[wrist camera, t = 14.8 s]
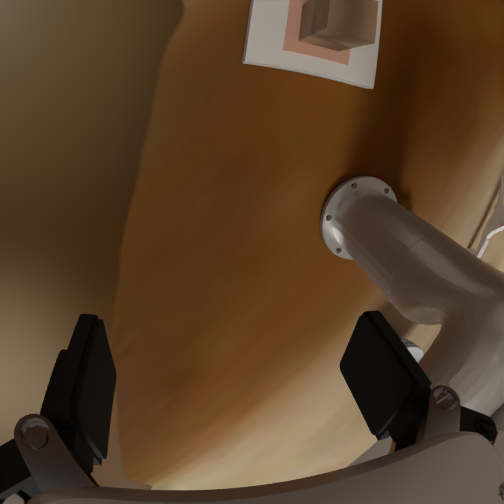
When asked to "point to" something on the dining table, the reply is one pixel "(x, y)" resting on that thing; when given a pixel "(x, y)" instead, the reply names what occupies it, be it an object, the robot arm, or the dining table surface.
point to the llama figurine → (492, 223)
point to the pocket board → (304, 46)
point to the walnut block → (339, 23)
